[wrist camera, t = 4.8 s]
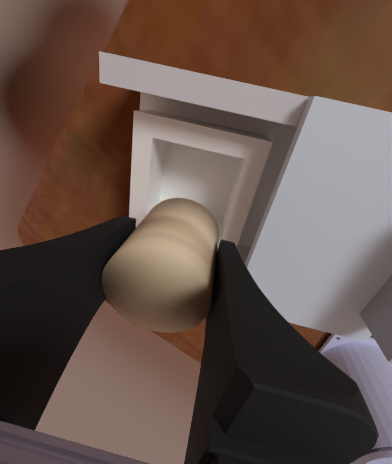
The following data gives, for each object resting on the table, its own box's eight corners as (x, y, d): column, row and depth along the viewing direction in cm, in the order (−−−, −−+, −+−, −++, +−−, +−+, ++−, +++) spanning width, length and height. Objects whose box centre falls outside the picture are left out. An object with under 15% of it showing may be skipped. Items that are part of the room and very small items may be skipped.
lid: (359, 331, 15) (392, 392, 12) (231, 298, 16) (230, 348, 12) (525, 143, 9) (685, 163, 6) (309, 96, 10) (347, 90, 6)
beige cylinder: (210, 271, 13) (200, 342, 9) (143, 255, 13) (103, 318, 9) (227, 207, 11) (222, 263, 7) (147, 190, 11) (98, 235, 7)
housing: (321, 277, 21) (349, 331, 16) (134, 230, 21) (103, 267, 16) (417, 124, 14) (516, 133, 9) (144, 64, 15) (98, 42, 10)
